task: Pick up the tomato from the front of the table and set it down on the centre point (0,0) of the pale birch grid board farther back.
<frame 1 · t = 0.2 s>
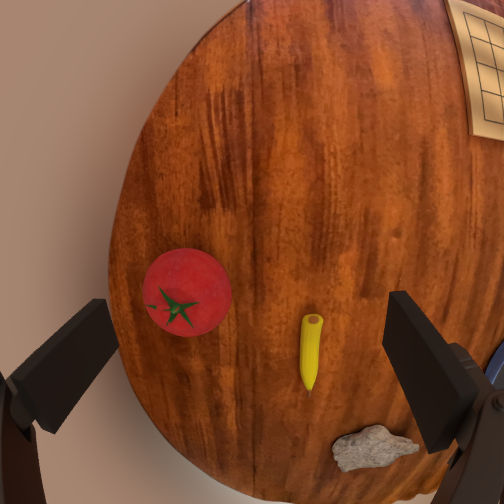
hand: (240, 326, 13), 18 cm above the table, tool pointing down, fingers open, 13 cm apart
rock: (372, 444, 39), on the table
tomato: (196, 277, 32), on the table
fruit: (308, 337, 33), on the table
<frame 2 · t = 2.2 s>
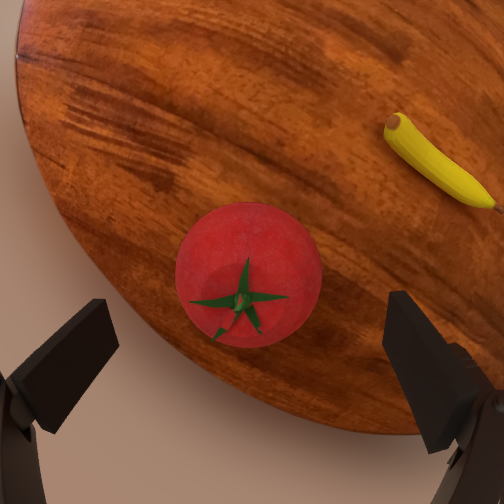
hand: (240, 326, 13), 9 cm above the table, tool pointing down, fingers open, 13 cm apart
tomato: (252, 255, 22), on the table
fruit: (424, 163, 18), on the table
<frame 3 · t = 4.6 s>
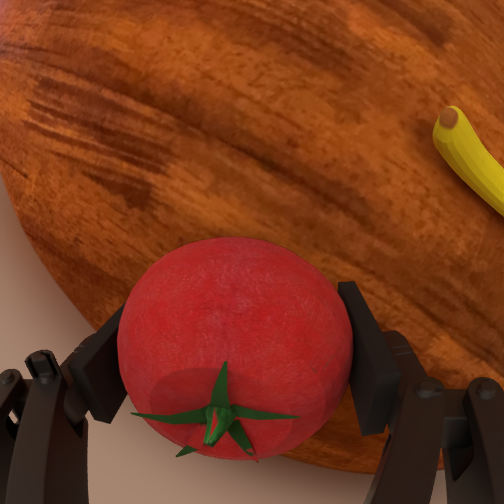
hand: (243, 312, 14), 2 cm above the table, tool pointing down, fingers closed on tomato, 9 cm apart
tomato: (244, 305, 14), point 2 cm above the table, touching gripper
fruit: (471, 174, 13), on the table
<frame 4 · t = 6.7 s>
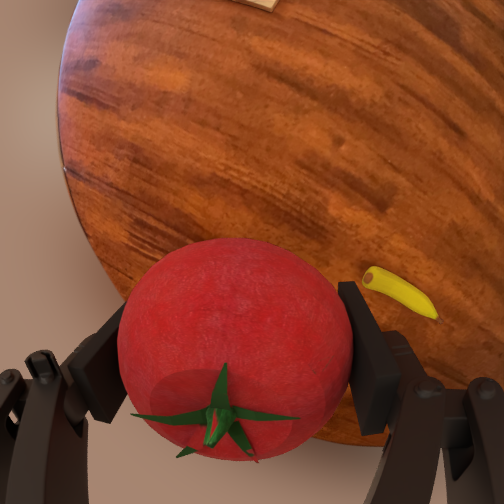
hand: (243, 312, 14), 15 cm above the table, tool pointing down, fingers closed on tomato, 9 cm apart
tomato: (244, 306, 14), point 15 cm above the table, touching gripper
fruit: (392, 282, 29), on the table
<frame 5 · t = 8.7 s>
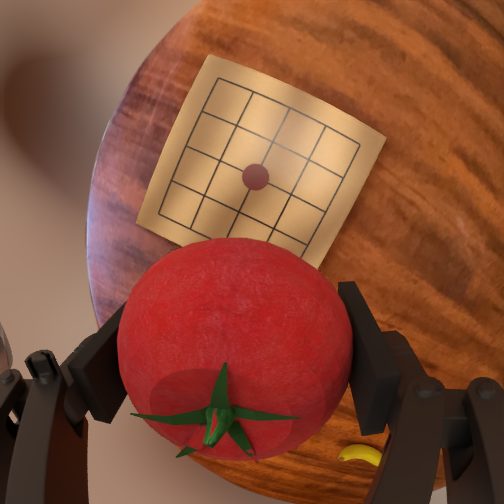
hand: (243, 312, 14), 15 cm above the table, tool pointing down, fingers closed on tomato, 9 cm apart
board: (256, 176, 27), on the table
tomato: (244, 306, 14), point 15 cm above the table, touching gripper
fruit: (361, 445, 38), on the table
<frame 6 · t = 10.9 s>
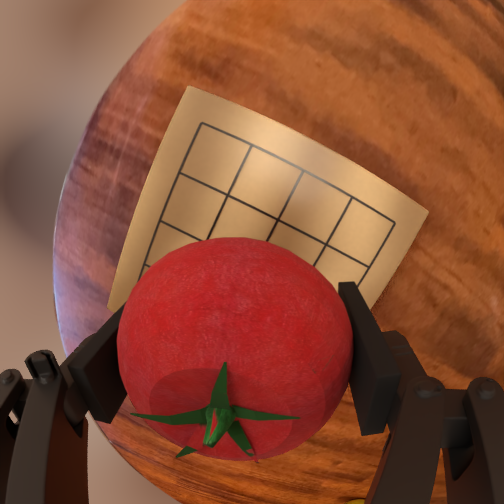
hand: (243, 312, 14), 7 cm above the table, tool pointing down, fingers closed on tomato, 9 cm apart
board: (254, 261, 21), on the table
tomato: (244, 306, 14), point 7 cm above the table, touching gripper
fruit: (360, 499, 32), on the table
when the fingers open (1 cm above the table, at t = 12.8 s): tomato stays where it is, resting on board.
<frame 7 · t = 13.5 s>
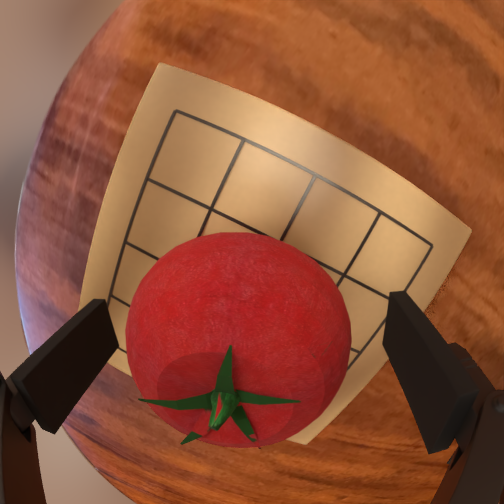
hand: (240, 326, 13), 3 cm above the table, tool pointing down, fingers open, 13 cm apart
board: (249, 294, 16), on the table
tomato: (247, 300, 15), point 1 cm above the table, touching board
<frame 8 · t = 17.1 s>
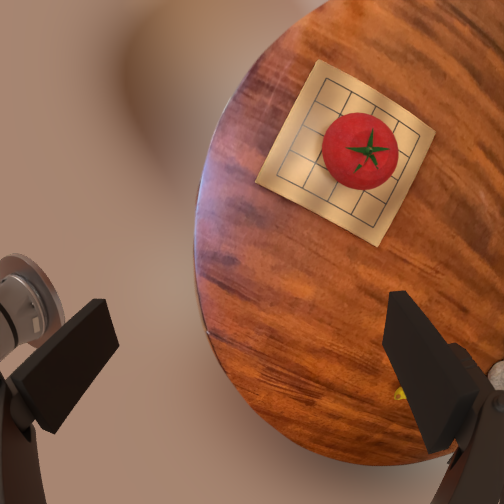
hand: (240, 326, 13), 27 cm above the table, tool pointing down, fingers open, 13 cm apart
board: (351, 152, 35), on the table
tomato: (352, 151, 34), point 1 cm above the table, touching board
fruit: (408, 388, 46), on the table
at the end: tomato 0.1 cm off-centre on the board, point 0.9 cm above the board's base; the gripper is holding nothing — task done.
